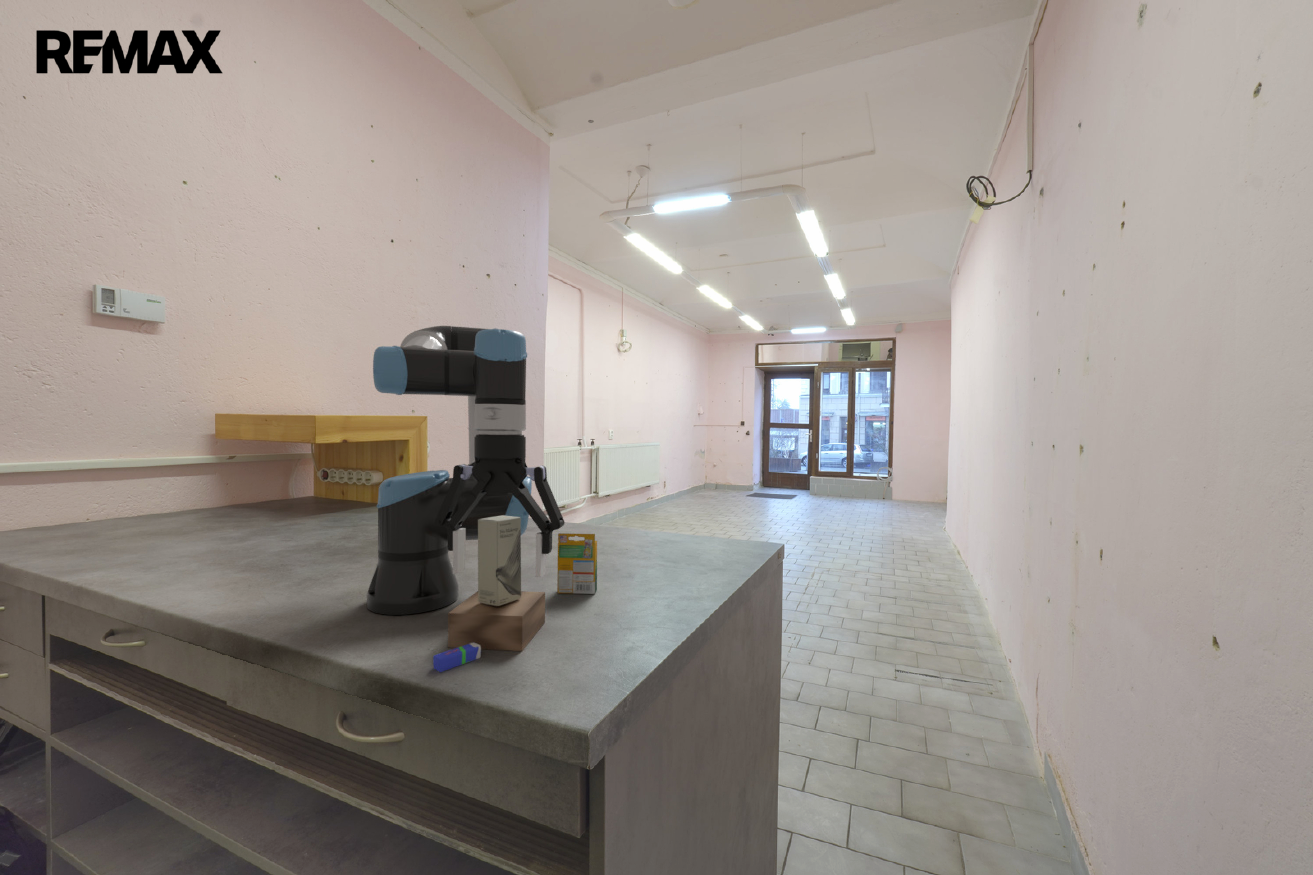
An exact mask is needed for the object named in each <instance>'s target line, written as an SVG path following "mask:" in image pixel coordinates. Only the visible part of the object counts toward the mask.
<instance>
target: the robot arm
mask: <svg viewBox="0 0 1313 875" xmlns="http://www.w3.org/2000/svg"><path fill="white" fill-rule="evenodd" d="M527 358H528V352H527V340H526V337H525V335H524V333H521V332H520V331H515V330H512V329H503V328H502V329H501V328H500V329H499V328H496V327H495V328H479V327H469V326H468V327H467V326H454V325H453V326H452V325H437V326H431V327H430V326H429V327H425V328H420V329H418V330H414V331H413V332H410V333H409V334H408V335H406V336H405V337H404V338H403V340H402V341H401V344H400V346H397V345H392V346H384V345H382V346H378V347H377V348H376V349H375V350H374V352H373V359H372V378H373V384H374V388H375V389H376V391H377V392H378V393H381V394H393V395H396V396H402V395H423V396H428V395H431V396H432V395H433V396H457V397H467V408H468V411H467V413H468V415H467V416H468V418H467V419H468V464H465V463H462V464H458V465H454V467H453V468H452V469H453V471H452V472H453V473H452V477H450V473H449V471H448V470H446V469H439V470H427V471H426V470H425V471H417V472H411V473H406V474H400V475H396V476H392V477H389V478H386V479H384V480H383V481H382V482H381V483H380V484H379V487H378V497H377V504H376V508H377V518H378V519H377V564H376V567H375V569H374V573H373V575H372V578H371V581H370V584H369V587H368V589H367V592H366V608H367V610H368V611H370V612H372V613H376V614H381V615H392V616H396V615H397V616H398V615H399V616H400V615H401V616H402V615H403V616H404V615H412V614H414V615H415V614H420V613H426V612H430V611H434V610H438V609H441V608H444V607H447V606H449V605H452V604H453V603H454V602H456V601H457V600H458V599H459V582H458V579H457V577H456V575H459V574H460V573H462V572H463V571H466V546H467V545H466V541H478V520H479V519H483V518H489V517H495V516H501V515H504V516H514V517H520V518H521V536H523V535H524V534H525V533H526V531H527V528H528V525H529V518H531V519H532V521H533V522H534V524H535V525H536V527H537V528H538V529H539V530H540V531H538V532H537V533H535V578H542V577H543V576H544V575H545V573H546V572H547V570H546V569H547V555H549V554H550V553H551V552H552V549H553V531H556V530H559V529H561V528H562V527H563V526H564V525H565V519H564V517H563V514H562V513H561V510H560V507H559V505H558V503H557V500H556V499H555V495H554V494H553V491H552V489H551V486H550V484H549V481H548V477H547V476H548V474H547V467H546V466H544V465H539V466H533V467H528V465H527V463H526V458H527V456H526V450H527V449H526V448H527V444H526V442H527V438H526V436H525V435H524V434H523V432H525V431H526V429H527V420H526V419H527V418H526V417H527V415H526V414H527V413H526V411H527V405H526V404H527V403H526V402H527V400H526V388H527V387H526V383H527V382H526V380H527V377H526V376H527ZM532 481H533V482H534V486H535V487H536V491H537V493H538V494H539V498H540V499H541V502H542V505H543V507H544V509H545V511H546V513H545V512H544V510H543V509H542V508H541V507H540V505H539V504H538V502H537V501H536V499H534V497H533V496H532V486H533V485H532V484H533V482H532ZM546 514H547V515H546ZM449 551H450V552H452V562H451V559H450V556H449Z"/></svg>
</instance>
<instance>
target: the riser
mask: <svg viewBox="0 0 1313 875" xmlns="http://www.w3.org/2000/svg"><path fill="white" fill-rule="evenodd" d="M545 623H546V592H544V591H522V590H521V598H520V599H518V600H515V601H512V602H509V603H506V604H503V605H500V606H493V605H488V604H483V603H480V602H478V590H477V591H476V592H474V593H473V594H472V595H471V596H469V597H468V598H466V599H465V600H464V601H463V602H461V603H460V604H459V605H457V606H456V607H454V608H453V609H452V610H450V611H449V612H448V613H447V648H452V649H454V648H458V647H461V646H464V645H467V644H470V643H477V644H479V645H480V646H481V650H490V651H491V650H493V651H495V650H496V651H515V652H523V651H524V649H525V648H527V646H528V645H529V643H530V642H531V641H532V640H533V639H534V637H535V636H536V634H537V633H538V632H539V631H540V630H541V628H542V627H543V626H544V624H545Z"/></svg>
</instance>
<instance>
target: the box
mask: <svg viewBox="0 0 1313 875" xmlns="http://www.w3.org/2000/svg"><path fill="white" fill-rule="evenodd" d="M521 536H522V535H521V518H520V517H514V516H504V515H501V516H495V517H489V518H483V519H479V520H478V540H477V570H478V571H477V591H478V602H480V603H483V604H488V605H493V606H500V605H503V604H506V603H509V602H512V601H515V600H518V599H520V598H521V591H522V548H521V547H522V539H521Z"/></svg>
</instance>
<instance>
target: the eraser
mask: <svg viewBox="0 0 1313 875" xmlns="http://www.w3.org/2000/svg"><path fill="white" fill-rule="evenodd" d="M481 654H482V649H481V646H480V645H479V644H477V643H470V644H467V645H464V646H461V647H458V648H452V649H448V650H445V651H443V652H440V653H437V654H434V655H433V657H432V658H433V659H432V662H433V670H435V669H436V670H435V671H437V672H438V671H439V673H442V672H445V670H446V671H448V670H451V669H454V668H456V667H459V666H462V665H464V664H467V663H469V662H473V661H475V660H478V659H480V658H481V657H482V655H481Z"/></svg>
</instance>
